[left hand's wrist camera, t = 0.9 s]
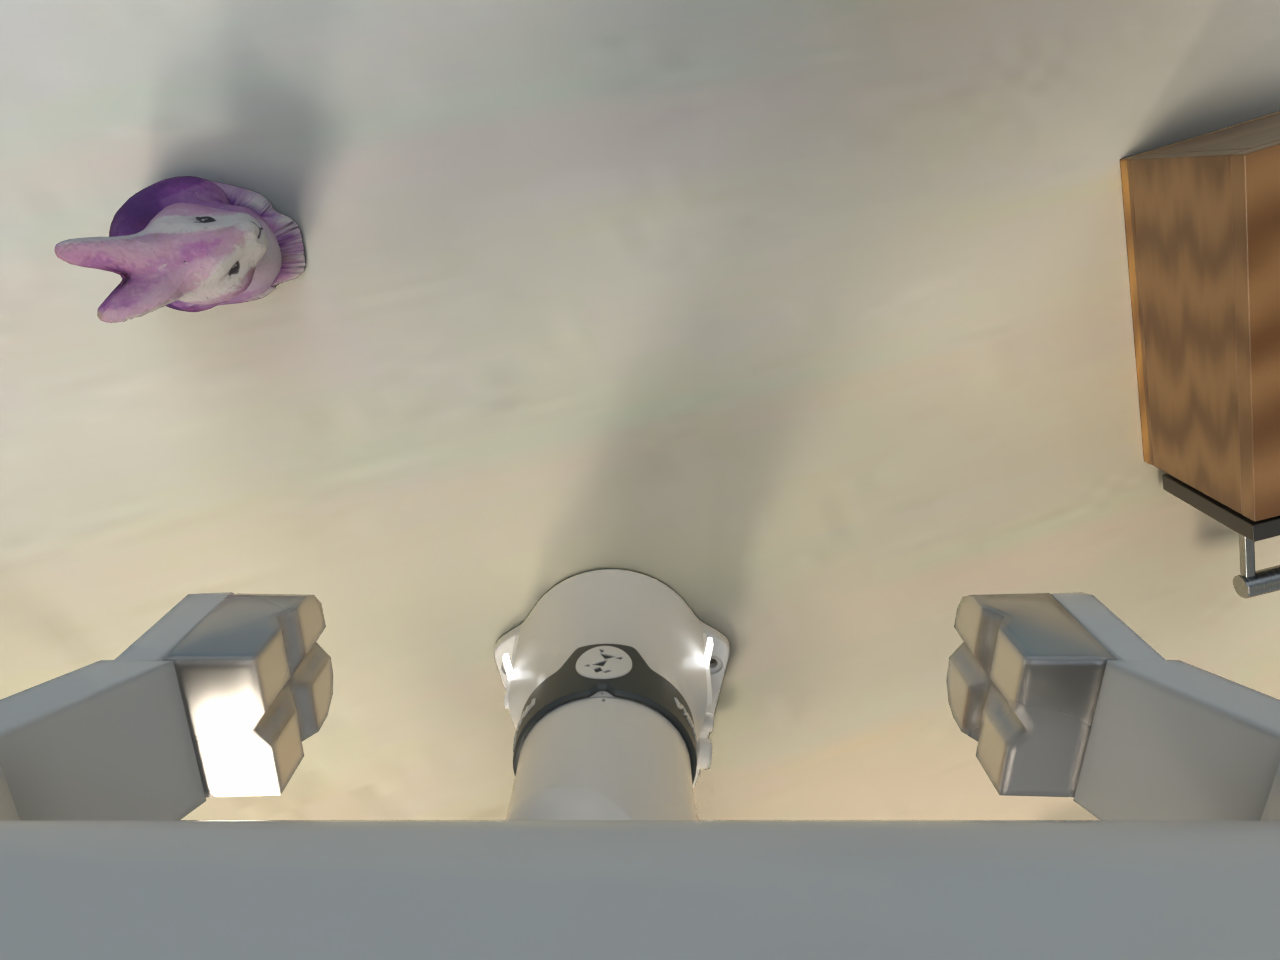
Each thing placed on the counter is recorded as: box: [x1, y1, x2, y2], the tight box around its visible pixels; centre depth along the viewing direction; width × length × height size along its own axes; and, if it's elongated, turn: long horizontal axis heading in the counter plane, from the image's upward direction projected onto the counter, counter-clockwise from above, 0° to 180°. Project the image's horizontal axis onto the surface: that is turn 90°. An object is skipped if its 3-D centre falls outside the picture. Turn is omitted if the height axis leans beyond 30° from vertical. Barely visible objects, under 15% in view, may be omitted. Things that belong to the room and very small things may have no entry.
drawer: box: [1163, 474, 1280, 598], centre depth 51 cm, size 26×9×9 cm, turn 17°
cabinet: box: [1120, 111, 1280, 521], centre depth 49 cm, size 22×10×11 cm, turn 17°
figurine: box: [55, 176, 306, 323], centre depth 46 cm, size 9×10×15 cm
